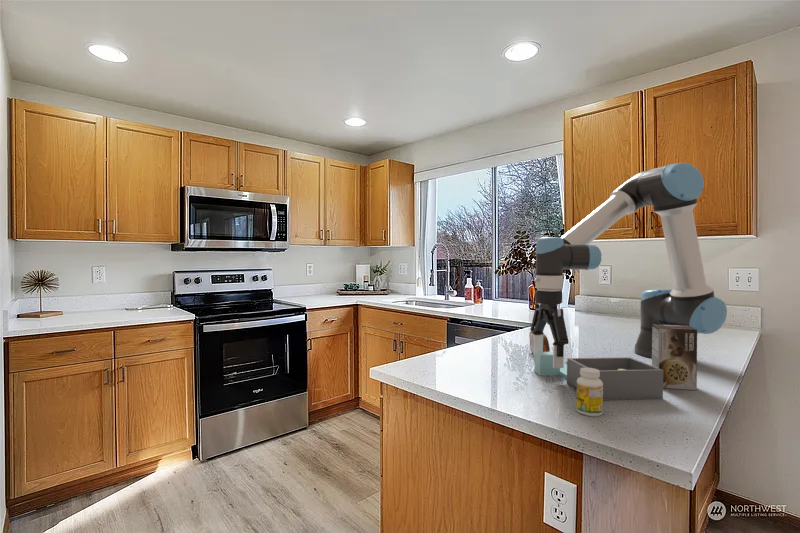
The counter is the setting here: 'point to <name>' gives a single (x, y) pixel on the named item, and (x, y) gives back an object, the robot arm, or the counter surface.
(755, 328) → the counter surface
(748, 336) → the counter surface
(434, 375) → the counter surface
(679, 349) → the coffee box
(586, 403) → the supplement bottle
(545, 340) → the tin
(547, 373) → the lid
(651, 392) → the tub
